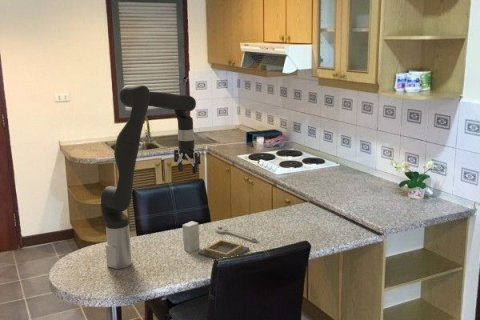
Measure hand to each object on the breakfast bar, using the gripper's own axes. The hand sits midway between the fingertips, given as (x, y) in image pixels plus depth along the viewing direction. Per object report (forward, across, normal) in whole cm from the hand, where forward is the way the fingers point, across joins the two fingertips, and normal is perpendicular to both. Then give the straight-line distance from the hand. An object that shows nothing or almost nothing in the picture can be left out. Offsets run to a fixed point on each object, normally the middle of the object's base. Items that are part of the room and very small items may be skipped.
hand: (187, 172), depth 245 cm
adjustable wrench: (+30, +22, +6) cm, 38 cm away
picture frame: (+29, +29, -12) cm, 43 cm away
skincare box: (+30, +15, -17) cm, 37 cm away
